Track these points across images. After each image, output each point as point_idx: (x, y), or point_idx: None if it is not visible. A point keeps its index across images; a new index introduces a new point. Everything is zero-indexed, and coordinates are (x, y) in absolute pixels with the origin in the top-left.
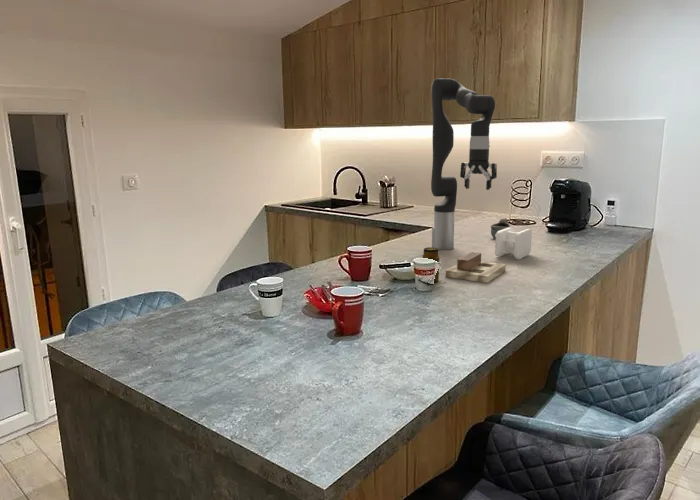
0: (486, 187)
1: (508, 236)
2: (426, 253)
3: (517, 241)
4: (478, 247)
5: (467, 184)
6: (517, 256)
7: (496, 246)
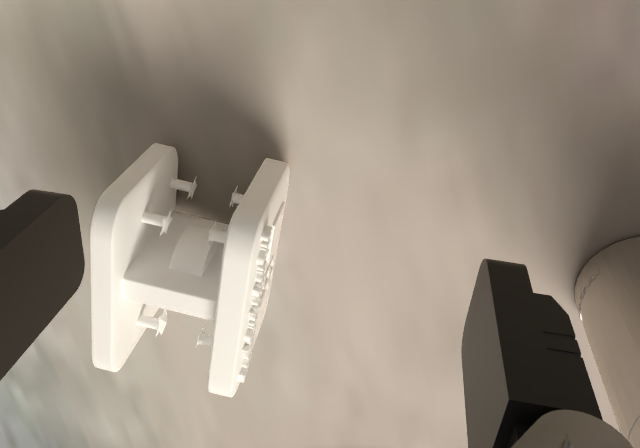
0: (42, 208)
1: (209, 278)
2: None
3: (122, 181)
4: (436, 353)
5: (493, 314)
6: (156, 143)
7: (270, 180)
